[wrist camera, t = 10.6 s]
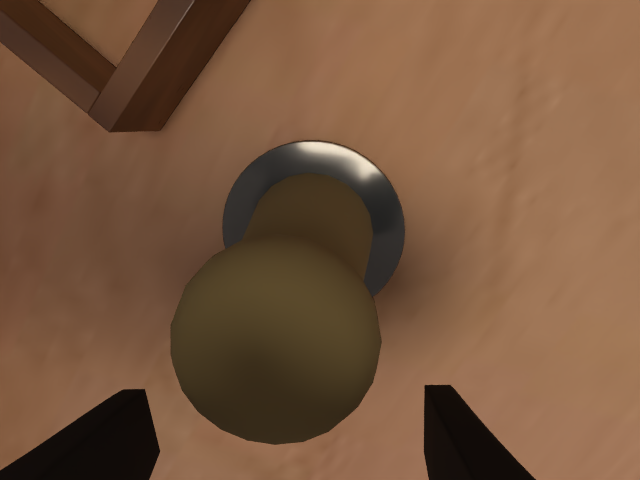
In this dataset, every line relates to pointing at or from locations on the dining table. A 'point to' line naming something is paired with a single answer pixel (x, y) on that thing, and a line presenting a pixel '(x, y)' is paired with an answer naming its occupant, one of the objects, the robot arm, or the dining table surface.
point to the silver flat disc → (341, 167)
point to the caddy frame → (135, 67)
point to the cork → (283, 317)
